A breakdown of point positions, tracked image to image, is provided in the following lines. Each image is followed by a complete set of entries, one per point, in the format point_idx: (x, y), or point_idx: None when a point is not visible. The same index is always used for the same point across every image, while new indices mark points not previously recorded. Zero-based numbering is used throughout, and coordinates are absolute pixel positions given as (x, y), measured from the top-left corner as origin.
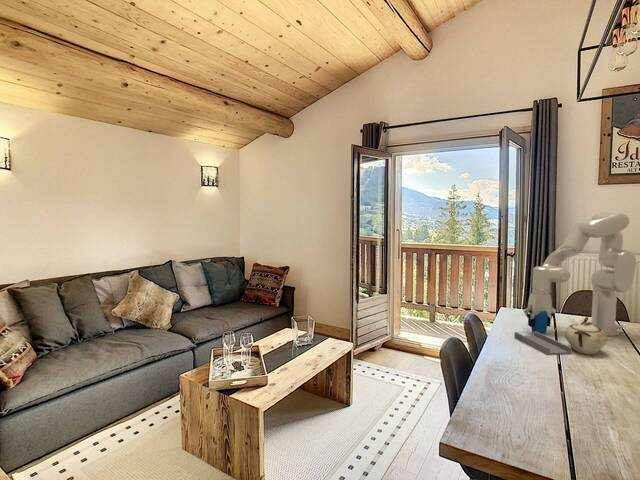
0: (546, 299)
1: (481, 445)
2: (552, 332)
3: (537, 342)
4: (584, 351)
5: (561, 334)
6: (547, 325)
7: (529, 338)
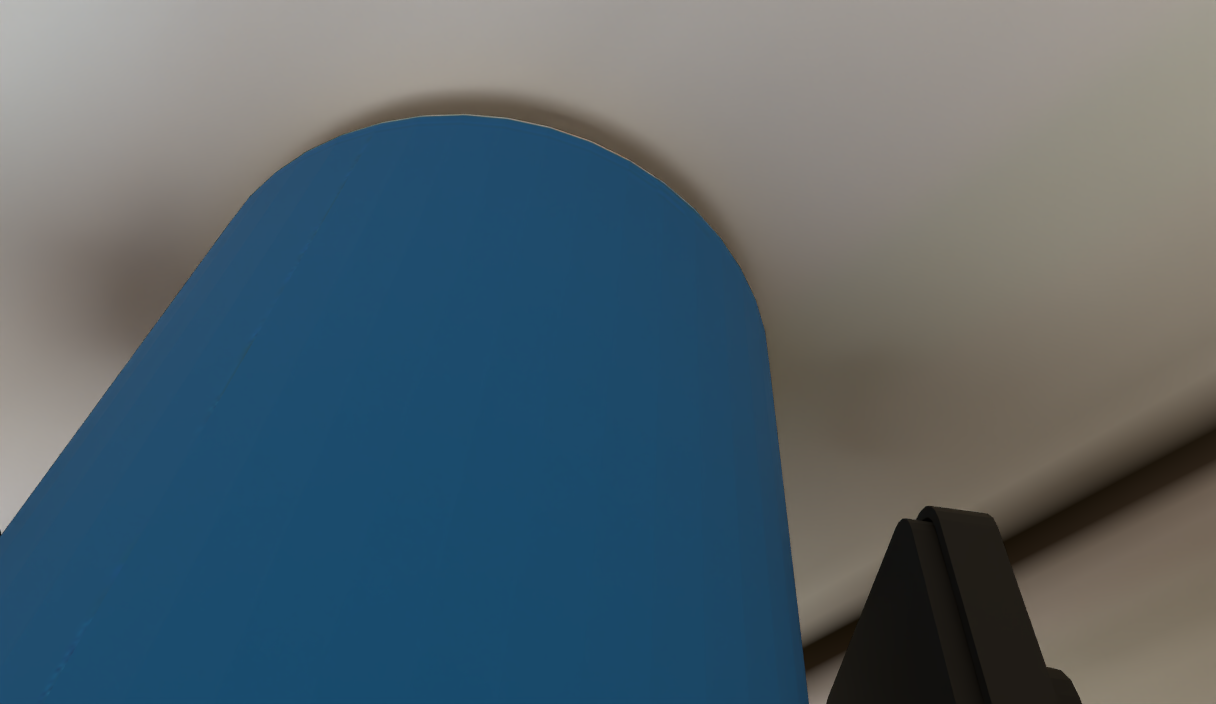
0: None
1: None
2: (1130, 397)
3: None
4: None
5: (1183, 607)
6: (853, 682)
7: None
